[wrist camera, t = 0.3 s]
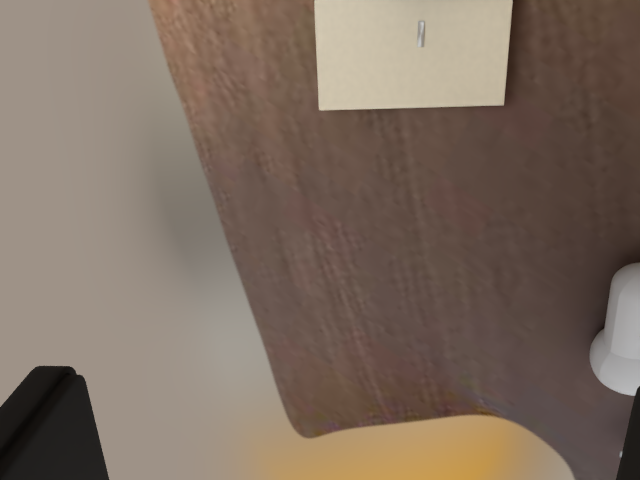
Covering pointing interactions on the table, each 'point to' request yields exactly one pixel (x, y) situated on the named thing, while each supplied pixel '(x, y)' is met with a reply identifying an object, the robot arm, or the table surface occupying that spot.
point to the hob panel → (411, 53)
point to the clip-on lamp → (620, 335)
